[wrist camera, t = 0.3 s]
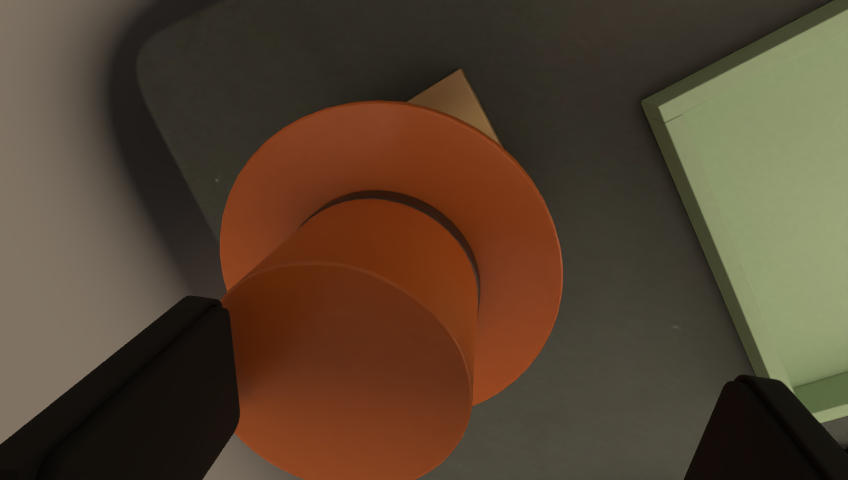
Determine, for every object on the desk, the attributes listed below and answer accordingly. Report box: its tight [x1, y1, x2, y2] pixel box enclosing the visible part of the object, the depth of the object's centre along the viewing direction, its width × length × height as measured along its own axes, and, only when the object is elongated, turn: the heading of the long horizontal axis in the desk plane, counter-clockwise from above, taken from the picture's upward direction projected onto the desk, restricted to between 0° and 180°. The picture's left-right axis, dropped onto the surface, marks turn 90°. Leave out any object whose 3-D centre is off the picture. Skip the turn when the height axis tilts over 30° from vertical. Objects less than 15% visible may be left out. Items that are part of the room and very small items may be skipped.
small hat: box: [220, 100, 563, 480], centre depth 12 cm, size 11×11×6 cm
